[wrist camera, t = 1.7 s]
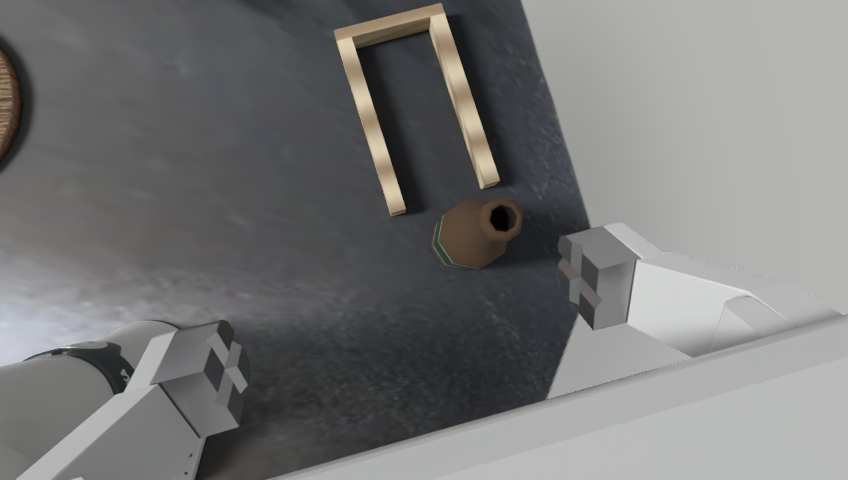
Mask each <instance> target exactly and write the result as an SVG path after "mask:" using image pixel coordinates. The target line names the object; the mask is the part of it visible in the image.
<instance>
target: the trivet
mask: <svg viewBox="0 0 848 480" xmlns="http://www.w3.org/2000/svg"><path fill="white" fill-rule="evenodd" d="M22 109H23V98H22V91H21V84H20V79H19V77H18V75H17V73H16V70H15V68H14V66H13V64H12V62H11V59H10V58H9V57H8V55H7V54H6V53H5V52H4V51H3V50H2V49H1V47H0V162H1V161H2V159H3V158H4V157H5V156H6V155H7V153H8V152H9V150H10V148H11V146H12V144H13V142H14V139H15V137H16V135H17V133H18V131H19V129H20V122H21V116H22Z"/></svg>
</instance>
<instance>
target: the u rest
mask: <svg viewBox="0 0 848 480" xmlns="http://www.w3.org/2000/svg"><path fill="white" fill-rule="evenodd" d="M426 30H429V32H430V35H431V38H432V41H433V44H434V47H435V50H436V53H437V56H438V60H439V63H440V66H441V69H442V72H443V75H444V78H445V81H446V84H447V87H448V90H449V93H450V96H451V99H452V102H453V105H454V108H455V111H456V114H457V117H458V121H459V124H460V127H461V130H462V133H463V136H464V139H465V142H466V145H467V148H468V151H469V154H470V157H471V160H472V163H473V166H474V169H475V172H476V175H477V179H478V182H479V185H480V188H481V189H484V188H488V187H491V186H494V185H496V184H497V183H498V182H499V181H500V179H499V176H498V173H497V170H496V167H495V164H494V161H493V158H492V155H491V152H490V149H489V146H488V142H487V139H486V136H485V133H484V130H483V127H482V124H481V121H480V118H479V115H478V112H477V109H476V106H475V103H474V100H473V97H472V94H471V91H470V88H469V85H468V82H467V79H466V76H465V73H464V70H463V67H462V64H461V61H460V58H459V55H458V52H457V49H456V46H455V43H454V40H453V37H452V34H451V31H450V28H449V25H448V22H447V19H446V16H445V13H444V10H443V7H442V4H441V3H439V4H435V5H431V6H427V7H423V8H419V9H415V10H411V11H407V12H403V13H399V14H396V15H392V16H388V17H384V18H380V19H376V20H372V21H368V22H364V23H360V24H356V25H352V26H349V27H345V28H341V29H337V30H334V34H335V38H336V42H337V45H338V48H339V52H340V55H341V58H342V61H343V64H344V68H345V71H346V74H347V77H348V80H349V84H350V87H351V90H352V93H353V96H354V99H355V103H356V106H357V109H358V112H359V115H360V119H361V122H362V125H363V128H364V131H365V135H366V138H367V141H368V144H369V147H370V151H371V154H372V157H373V160H374V163H375V167H376V170H377V173H378V176H379V179H380V183H381V186H382V189H383V192H384V195H385V198H386V202H387V205H388V208H389V211H390V214H391V217H392V216H395V215H398V214H402V213H405V211H406V208H405V204H404V201H403V198H402V195H401V192H400V189H399V185H398V182H397V179H396V176H395V173H394V170H393V166H392V163H391V160H390V157H389V154H388V151H387V147H386V144H385V141H384V138H383V135H382V132H381V128H380V125H379V122H378V119H377V116H376V113H375V109H374V106H373V103H372V100H371V97H370V94H369V90H368V87H367V84H366V81H365V78H364V75H363V71H362V68H361V65H360V62H359V59H358V56H357V52H356V49H357V48H361V47H365V46H368V45H372V44H376V43H380V42H384V41H388V40H391V39H395V38H399V37H403V36H407V35H410V34H414V33H418V32H422V31H426Z"/></svg>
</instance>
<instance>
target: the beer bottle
mask: <svg viewBox="0 0 848 480" xmlns="http://www.w3.org/2000/svg"><path fill="white" fill-rule="evenodd" d="M523 216H524V214H523V213H522V211H521V210H520V208H519V207H518V206H517V204H516V203H515V201H512V200H507V199H502V198H498V197H495V198H494V199H492V200H491V201H489V202H484V201H479V200H474V199H470V198H468V199H467V200H465V201H463V202H462V203H460V204H459V205H457V206H456V207H454V208H453V209H451V210H450V211H448V212H447V213H445V214H444V215H443V216H442V217H441V218H440V219H439V221H438V222H437V223H436V224H435V227H434V232H433V237H432V242H431V247H430V248H431V249H432V251H433V252H434V254H435V255H436V257H437V258H438V260H439V261H440V263H441V264H442V265H443V266H448V267H452V268H457V269H462V270H475V269H481V268H483V267H485V266H486V265H488V264H489V263H491V262H492V261H494V260H495V259H496V258H498V257H499V256H501V255H502V254H504V253H505V251H506V245H507V242H508V241H509V240H511V239H512V238H514V237H515V236H517V235H518V234H520V232H521V227H522V221H523Z"/></svg>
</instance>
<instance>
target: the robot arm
mask: <svg viewBox="0 0 848 480" xmlns="http://www.w3.org/2000/svg"><path fill="white" fill-rule="evenodd" d="M558 252H559V253H560V254H561V255H562V256H563V258H562V260H561V261H560V263H559V264H558V279H559V283H560V287H561V289H562V291H563V293H564V294H565V296H566V297H567V298H568V300H569V301H572V302H574V303H577V304H579V313H580V315H581V316H582V317H583V318H584V320H586V322H587V323H588V324H589V326H590V327H591V328H592V329H593V330H598V329H602V328H606V327H610V326H614V325H618V324H622V323H626V322H627V324H628V325H631V326H632V327H634V328H636V329H638V330H640V331H642V332H644V333H646V334H648V335H650V336H652V337H654V338H655V339H657V340H660V341H662V342H663V343H665V344H667V345H669V346H671V347H673V348H675V349H677V350H679V351H681V352H683V353H685V354H687V355H689V356H691V357H693V358H691V359H688V360H684V361H681V362H677V363H674V364H670V365H667V366H663V367H660V368H656V369H653V370H649V371H646V372H642V373H639V374H635V375H632V376H628V377H625V378H621V379H618V380H614V381H611V382H607V383H604V384H601V385H597V386H593V387H590V388H586V389H582V390H579V391H575V392H572V393H568V394H565V395H562V396H558V397H554V398H551V399H547V400H544V401H540V402H537V403H533V404H530V405H526V406H523V407H519V408H516V409H512V410H509V411H505V412H502V413H498V414H495V415H491V416H488V417H484V418H481V419H477V420H474V421H470V422H466V423H463V424H459V425H456V426H452V427H449V428H445V429H442V430H438V431H435V432H431V433H428V434H424V435H421V436H417V437H414V438H410V439H407V440H403V441H400V442H396V443H393V444H389V445H386V446H382V447H379V448H375V449H372V450H368V451H365V452H361V453H358V454H354V455H351V456H347V457H344V458H340V459H337V460H333V461H330V462H326V463H323V464H319V465H316V466H312V467H309V468H305V469H302V470H298V471H295V472H291V473H288V474H284V475H281V476H277V477H274V478H270V479H267V480H848V314H846V315H842V314H840V313H839V312H837V311H835V310H834V309H832V308H830V307H829V306H827V305H826V304H824V303H823V302H821V301H819V300H817V299H816V298H814V297H813V296H811V295H810V294H808V293H806V292H805V291H803V290H801V289H800V288H798V287H797V286H795V285H793V284H792V283H790V282H787V281H783V280H779V279H775V278H771V277H767V276H764V275H760V274H755V273H752V272H748V271H744V270H740V269H736V268H732V267H728V266H724V265H720V264H716V263H712V262H708V261H704V260H701V259H696V258H693V257H689V256H685V255H681V254H676V253H673V252H666V253H663V252H661V251H660V250H659V249H657V248H656V247H655V246H654V245H652V244H651V243H650V242H648V241H647V240H645V239H644V238H643V237H642V236H640V235H639V234H637V233H636V232H635V231H634V230H632V229H631V228H630V227H628V226H627V225H626V224H624V223H623V222H620V221H615V222H612V223H608V224H605V225H601V226H598V227H596V228H592V229H588V230H584V231H580V232H576V233H572V234H569V235H565V236H561V237H560V239H559V241H558ZM233 336H234V330H233V329H232V327H231V326H230V324H229V322H227V321H225V320H220V321H216V322H211V323H207V324H202V325H198V326H193V327H189V328H185V329H180V330H179V329H177V328H175V327H173V326H171V325H169V324H166V323H163V322H158V321H137V322H132V323H129V324H126V325H123V326H121V327H119V328H117V329H115V330H114V331H112V332H111V333H109V334H108V335H107V336H105V337H104V338H102V339H100V340H97V341H88V342H82V343H76V344H71V345H67V346H62V347H61V348H58V349H54V350H50V351H47V352H43V353H40V354H37V355H34V356H32V357H29V358H27V359H25V360H24V361H22V362H19V363H15V364H11V365H6V366H2V367H0V480H194V479H195V476H196V472H197V469H198V465H199V462H200V458H201V455H202V451H203V447H204V444H205V440H206V437H207V436H210V435H213V434H217V433H220V432H223V431H227V430H230V429H233V428H237V427H239V426H240V421H241V416H242V412H243V407H244V402H245V401H244V399H243V398H242V396H241V393H242V391H243V390H244V389H245V388H246V387H247V386H248V382H249V376H250V371H249V361H248V358H247V355H246V352H245V350H244V349H243V347H242V346H241V345H239V344H237V343H235V342H233V341H232V340H233Z"/></svg>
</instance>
